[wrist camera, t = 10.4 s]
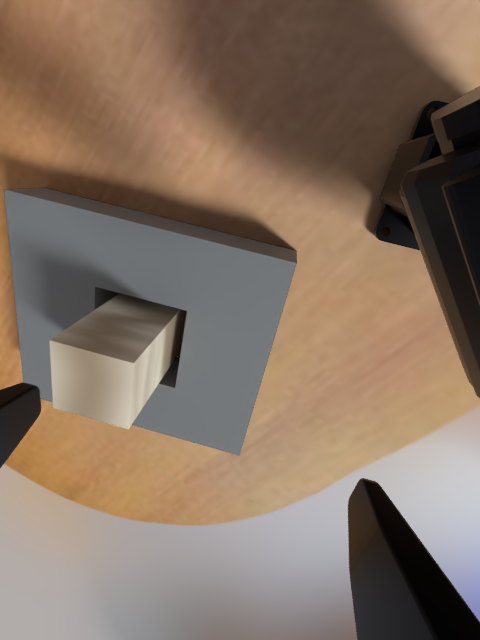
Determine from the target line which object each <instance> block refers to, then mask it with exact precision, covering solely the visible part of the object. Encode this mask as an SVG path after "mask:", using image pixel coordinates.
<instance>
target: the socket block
mask: <svg viewBox="0 0 480 640" xmlns="http://www.w3.org/2000/svg"><path fill="white" fill-rule="evenodd" d="M4 196H5V205H6V215H7V225H8V235H9V245H10V255H11V265H12V275H13V284H14V294H15V304H16V314H17V324H18V334H19V344H20V354H21V363H22V373H23V383H28V384H32V385H35V386H38V388H39V389H40V399H43V400H46V401H50V402H53V396H52V378H51V360H50V341H49V340H51V339H52V338H54V337H55V336H57V335H58V334H60V333H61V332H63V331H64V330H66V329H67V328H69V327H70V326H72V325H73V324H75V323H76V322H77V321H79V320H80V319H82V318H83V317H85V316H86V315H88V314H89V313H91V312H92V311H94V310H95V309H97V308H98V307H100V306H101V305H103V304H104V303H106V302H107V301H109V300H110V299H112V298H113V297H115V296H116V295H118V294H119V293H121V294H125V295H129V296H132V297H136V298H140V299H144V300H148V301H151V302H155V303H159V304H163V305H167V306H170V307H174V308H178V309H182V310H185V311H187V315H186V322H185V328H184V334H183V341H182V347H181V354H180V360H179V361H177V360H174V361H173V362H172V364H171V366H170V367H169V369H168V370H167V372H166V373H165V375H164V376H163V378H162V379H161V381H160V382H159V384H158V385H157V387H156V388H155V390H154V391H153V393H152V394H151V396H150V397H149V399H148V401H147V402H146V404H145V405H144V407H143V408H142V410H141V411H140V413H139V414H138V416H137V417H136V419H135V420H134V422H133V423H132V425H134V426H137V427H141V428H144V429H148V430H151V431H155V432H158V433H162V434H165V435H169V436H172V437H176V438H179V439H183V440H186V441H190V442H193V443H197V444H200V445H204V446H208V447H211V448H215V449H218V450H222V451H225V452H229V453H232V454H236V455H240V452H241V448H242V445H243V442H244V438H245V435H246V432H247V428H248V425H249V422H250V418H251V415H252V411H253V408H254V405H255V401H256V398H257V395H258V391H259V388H260V385H261V381H262V378H263V375H264V371H265V368H266V365H267V361H268V358H269V355H270V351H271V348H272V344H273V341H274V338H275V334H276V331H277V328H278V324H279V321H280V318H281V314H282V311H283V308H284V304H285V301H286V298H287V294H288V291H289V287H290V284H291V281H292V277H293V274H294V271H295V267H296V264H297V251H296V250H292V249H288V248H284V247H280V246H276V245H272V244H268V243H264V242H260V241H256V240H252V239H248V238H244V237H240V236H236V235H232V234H228V233H224V232H220V231H216V230H212V229H208V228H204V227H200V226H196V225H192V224H188V223H184V222H180V221H176V220H172V219H168V218H164V217H160V216H156V215H152V214H148V213H144V212H140V211H136V210H132V209H128V208H124V207H120V206H116V205H112V204H108V203H104V202H100V201H96V200H92V199H88V198H84V197H80V196H76V195H72V194H68V193H64V192H60V191H56V190H52V189H48V188H23V189H4Z"/></svg>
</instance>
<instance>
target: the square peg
mask: <svg viewBox="0 0 480 640" xmlns="http://www.w3.org/2000/svg"><path fill="white" fill-rule="evenodd" d="M185 316H186V311H185V310H182V309H178V308H174V307H170V306H167V305H163V304H159V303H155V302H151V301H148V300H144V299H140V298H136V297H132V296H129V295H125V294H121V293H119V294H118V295H116V296H115V297H113V298H112V299H110V300H109V301H107V302H106V303H104V304H103V305H101V306H100V307H98V308H97V309H95V310H94V311H92V312H91V313H89V314H88V315H86V316H85V317H83V318H82V319H80V320H79V321H77V322H76V323H75V324H73V325H72V326H70V327H69V328H67V329H66V330H64V331H63V332H61V333H60V334H58V335H57V336H55V337H54V338H52V339H51V340H49V341H50V360H51V378H52V396H53V408H55V409H59V410H62V411H66V412H69V413H73V414H76V415H80V416H83V417H87V418H90V419H94V420H97V421H101V422H104V423H108V424H111V425H115V426H118V427H122V428H125V429H129V428H130V426H131V425H132V423H133V422H134V420H135V419H136V417H137V416H138V414H139V413H140V411H141V410H142V408H143V407H144V405H145V404H146V402H147V401H148V399H149V397H150V396H151V394H152V393H153V391H154V390H155V388H156V387H157V385H158V384H159V382H160V381H161V379H162V378H163V376H164V375H165V373H166V372H167V370H168V369H169V367H170V366H171V364H172V362H173V361H174V359H175V358H176V356H177V355H178V353H179V352H180V349H181V342H182V336H183V329H184V323H185Z"/></svg>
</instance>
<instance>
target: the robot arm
mask: <svg viewBox="0 0 480 640" xmlns="http://www.w3.org/2000/svg"><path fill="white" fill-rule="evenodd" d="M430 109H434V110H435V112H434V113H432V116H431V120H430V119H428V117H427V113H428V111H429V110H430ZM380 198H381V200H382V202H383V203H384V206H383V208H382V211H381V213H380V216H379V218H378V221H377V224H376V226H375V229H374V234H375V236H376V238H378V239H379V240H381V241H384V242H389V243H393V244H397V245H401V246H405V247H409V248H413V249H417V250H420V251H421V253H422V256H423V259H424V262H425V264H426V267H427V270H428V273H429V275H430V278H431V281H432V284H433V286H434V289H435V292H436V295H437V297H438V300H439V303H440V306H441V308H442V311H443V314H444V316H445V319H446V322H447V325H448V327H449V330H450V333H451V336H452V338H453V341H454V344H455V347H456V349H457V352H458V355H459V358H460V360H461V363H462V366H463V368H464V371H465V373H466V375H467V378H468V380H469V382H470V383H471V385H472V386H473V387H474V390H475V393H476V395H477V396H478V397H479V398H480V86H479V87H477V88H475V89H474V90H472V91H470V92H468V93H467V94H465V95H463V96H461V97H460V98H458V99H456V100H454V101H453V102H451V103H445V102H441V101H433V102H430V103H428V104H427V105H425V106H424V107H423V108H422V109H421V111H420V113H419V115H418V118H417V121H416V123H415V126H414V128H413V131H412V133H411V136H410V139H409V141H407V142H405V143H403V144H402V145H400V146H399V149H398V151H397V154H396V157H395V159H394V162H393V165H392V167H391V170H390V172H389V175H388V178H387V180H386V183H385V186H384V188H383V191H382V193H381V196H380ZM384 227H388V229H389V230H388V233H387V234H386V235H381V233H380V232H381V229H382V228H384ZM40 412H41V399H40V389H39V388H38V386H35V385H32V384H28V383H20V384H17V385H14V386H11V387H8V388H5V389H2V390H0V468H1V467H2V465H3V464H4V463H5V461H6V460H7V459H8V458H9V456H10V455H11V453H12V452H13V451H14V449H15V448H16V447H17V445H18V444H19V443H20V441H21V440H22V439H23V437H24V436H25V434H26V433H27V432H28V430H29V429H30V428H31V426H32V425H33V424H34V422H35V421H36V419H37V418H38V416H39V415H40ZM348 529H349V530H348V531H349V570H350V581H351V590H352V598H353V607H354V615H355V623H356V632H357V640H480V622H479V620H478V619H477V618H476V616H475V615H474V613H473V612H472V611H471V609H470V608H469V607H468V605H467V604H466V602H465V601H464V600H463V598H462V597H461V596H460V594H459V593H458V592H457V590H456V589H455V588H454V586H453V585H452V583H451V582H450V581H449V579H448V578H447V577H446V575H445V574H444V572H443V571H442V570H441V568H440V567H439V565H438V564H437V563H436V561H435V560H434V559H433V557H432V556H431V555H430V553H429V552H428V551H427V549H426V548H425V546H424V545H423V544H422V542H421V541H420V539H419V538H418V537H417V535H416V534H415V533H414V531H413V530H412V529H411V527H410V526H409V524H408V523H407V522H406V520H405V519H404V518H403V516H402V515H401V514H400V512H399V511H398V510H397V508H396V507H395V505H394V504H393V503H392V501H391V500H390V499H389V497H388V496H387V494H386V493H385V492H384V490H383V489H382V487H381V486H380V485H379V484H378V483H377V482H375V481H372V480H368V479H364V478H362V479H360V480H359V482H358V483H357V485H356V487H355V489H354V491H353V492H352V494H351V496H350V498H349V502H348Z"/></svg>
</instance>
